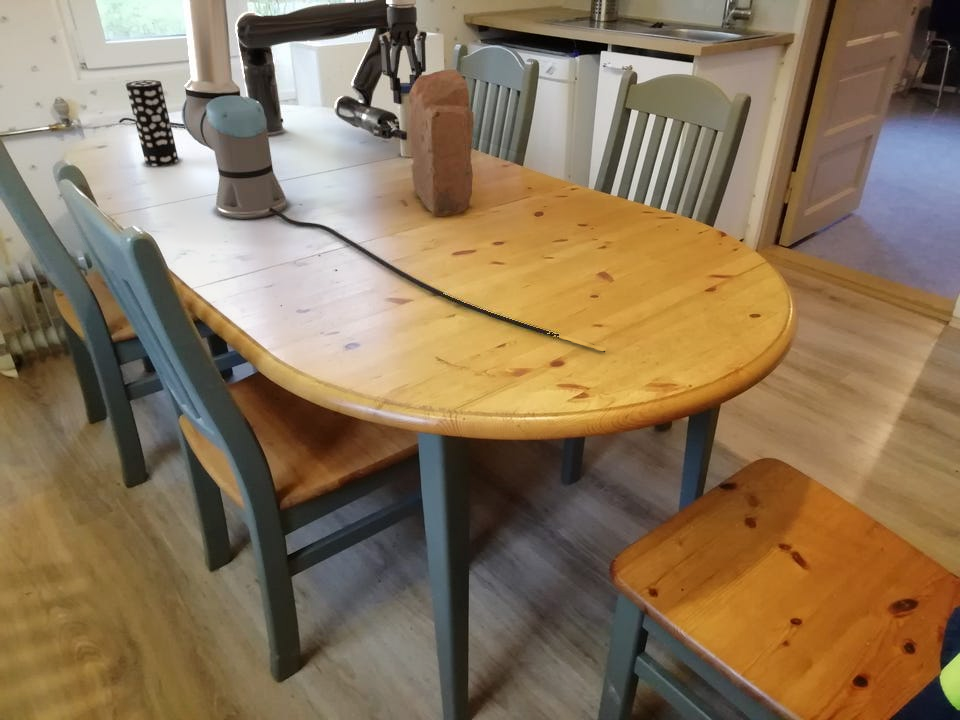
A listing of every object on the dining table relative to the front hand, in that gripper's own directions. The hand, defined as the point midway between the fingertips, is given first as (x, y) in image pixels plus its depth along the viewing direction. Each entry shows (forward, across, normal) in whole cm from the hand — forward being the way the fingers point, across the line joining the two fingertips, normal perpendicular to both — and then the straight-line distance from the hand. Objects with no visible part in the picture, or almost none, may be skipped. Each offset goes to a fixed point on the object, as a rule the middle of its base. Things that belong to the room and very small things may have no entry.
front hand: (405, 101), depth 187 cm
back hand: (+8, 0, -3) cm, 9 cm away
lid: (-4, 0, 0) cm, 4 cm away
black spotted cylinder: (+4, -58, +33) cm, 67 cm away
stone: (+15, -14, -37) cm, 42 cm away
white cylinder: (+15, 0, 0) cm, 15 cm away
